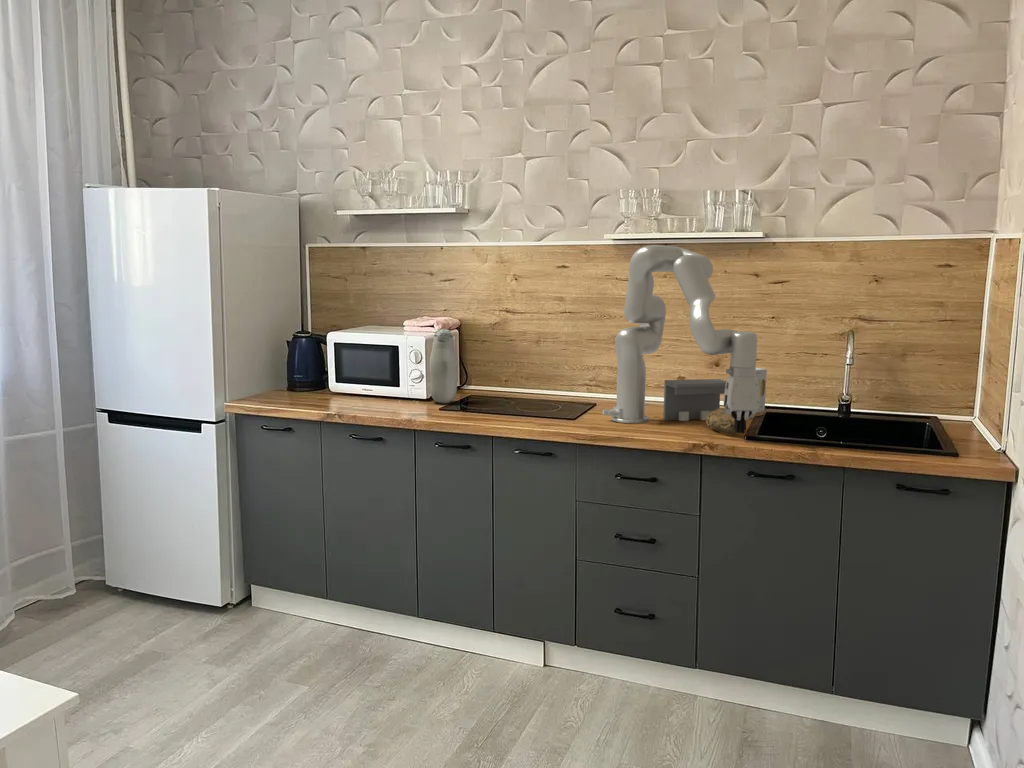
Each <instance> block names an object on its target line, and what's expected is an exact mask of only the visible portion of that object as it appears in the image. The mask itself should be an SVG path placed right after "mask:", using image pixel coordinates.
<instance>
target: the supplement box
mask: <svg viewBox="0 0 1024 768" xmlns="http://www.w3.org/2000/svg"><path fill="white" fill-rule="evenodd" d="M767 373H768V369H767V368H761V367H756V375H755V377H758V380H759V387H760V408H759V409H758V412H761V411H764V412H765V411H766V410H765V409H766V393H767V390H766V389H767ZM728 377H730V375H729V374H728ZM731 411H732V410H731ZM740 414H741V411H740ZM755 414H756V413H755ZM755 414H751V415H750V416H749V417H748V419H752V418H753V419H754V418H755V417H754V415H755Z"/></svg>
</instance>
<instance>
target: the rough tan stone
mask: <svg viewBox="0 0 1024 768" xmlns="http://www.w3.org/2000/svg"><path fill="white" fill-rule="evenodd" d="M724 408H725V407H720V408H718V409H716V410H713V411H711V412H710V413H709V414H708V415H707V417H706V420H705V423H706V424H707V426H708V427H709V428H711V429H712V430H713V431H717V432H720V433H723V434H727V435H738V434H739V433H737V432H735V429H734V424H735V419H734V418H733V417H732V416H731V415H729V414H726V413H724Z"/></svg>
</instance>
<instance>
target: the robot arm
mask: <svg viewBox="0 0 1024 768" xmlns="http://www.w3.org/2000/svg"><path fill="white" fill-rule="evenodd" d="M628 268H629V269H628V282H627V287H626V294H625V295H626V296H625V300H624V307H623V308H624V309H623V317H624V318H625V320H626V321H627V322H629V323H630V324H639V325H638V326H629V327H625V328H622V329H620V330H619V332H618V333H617V334H616V337H615V340H614V345H615V353H616V362H617V363H616V364H617V365H616V366H617V367H616V369H617V370H616V371H617V372H616V374H617V375H616V376H617V377H616V405H614V406H613V407H612V408H611V409H608V408H607V409H602V411H601V412H602V415H603V416H611V420H612V421H613V422H617V423H623V424H644V423H647V422H650V421H649V420H650V417H649V416H648V415H646V414H645V411H646V409H645V408H646V407H645V405H646V382H647V381H646V378H647V377H646V376H647V375H646V373H647V370H646V369H647V368H646V362H645V359H644V357H643V356H644V355H648V354H653V353H655V352H656V351H658V349H659V348H660V346H661V344H662V341H663V340H662V339H663V335H664V328H665V321H666V316H667V307H666V304H665V301H664V300H663V299H662V297H660V296H659V295H657V294H653V293H654V287H655V280H654V276H653V273H654V272H655V273H657V272H659V273H660V272H662V273H663V272H664V273H665V272H666V273H667V272H668V273H673V275H674V277H675V279H676V281H677V283H678V285H679V288H680V289H681V291H682V294H683V296H684V298H685V300H686V303H687V304H688V306H689V312H688V319H689V320H688V321H689V322H688V323H689V329H690V332H691V334H692V336H693V338H694V340H695V342H696V345H697V346H698V348H699V350H700V351H701V352H702V353H704V354H706V355H708V356H717V355H725V354H726V355H727V354H730V358H729V359H730V360H729V361H730V363H729V368H726V370H725V373H726V374H728V376H727V379H726V381H727V382H726V386H725V392H724V393H723V408H724V413H726V414H729V415H731V416H732V417H733V418H734V419H735V424H734V429H735V432H737V433H738V434H745V433H746V429H747V421H748V420H749V418H748V417H749V416H750V415H751V414H755V413H757V412H758V409H759V408H760V387H759V380H758V377H755V375H756V368H757V352H758V351H757V350H758V335H757V334H756V332H754V331H746V330H745V331H738V330H732V329H727V328H725V329H715V327H714V325H713V323H712V321H711V319H710V313H709V312H710V311H709V309H710V307H711V304H712V303H713V302H714V300H715V298H716V293H715V291H714V290H713V288H712V285H711V284H710V282H709V279H710V278H711V277H712V275H713V272H714V266H713V264H712V261H711V259H709V258H708V257H707V256H706V255H703V254H700V253H697V252H695V251H692V250H689V249H686V248H684V247H680V246H676V245H664V244H663V245H662V244H652V245H645V246H643V247H640V248H638V249H637V250H636V251H635V252H634V253H633V255H632V256H631V258H630V261H629V267H628ZM729 375H730V377H729ZM731 410H732V411H731ZM740 411H741V414H740Z"/></svg>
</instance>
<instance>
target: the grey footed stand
mask: <svg viewBox="0 0 1024 768" xmlns="http://www.w3.org/2000/svg"><path fill="white" fill-rule="evenodd" d="M726 382H727V380H723V379H721V378H705V379H704V378H701V379H700V378H699V379H697V378H696V379H669V380H668V379H665V380H664V383H663V384H664V387H663V416H662V417H663V420H664V421H671V420H672V421H676V420H677V421H679V422H689V420H701V421H706V417H707V415H708V414H709V413H710V412H711V411H713V410H716V409H718V408H721V407H720V406H721V403H720V402H721V395H722V394H723V395H724V392H725V386H726Z"/></svg>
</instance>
